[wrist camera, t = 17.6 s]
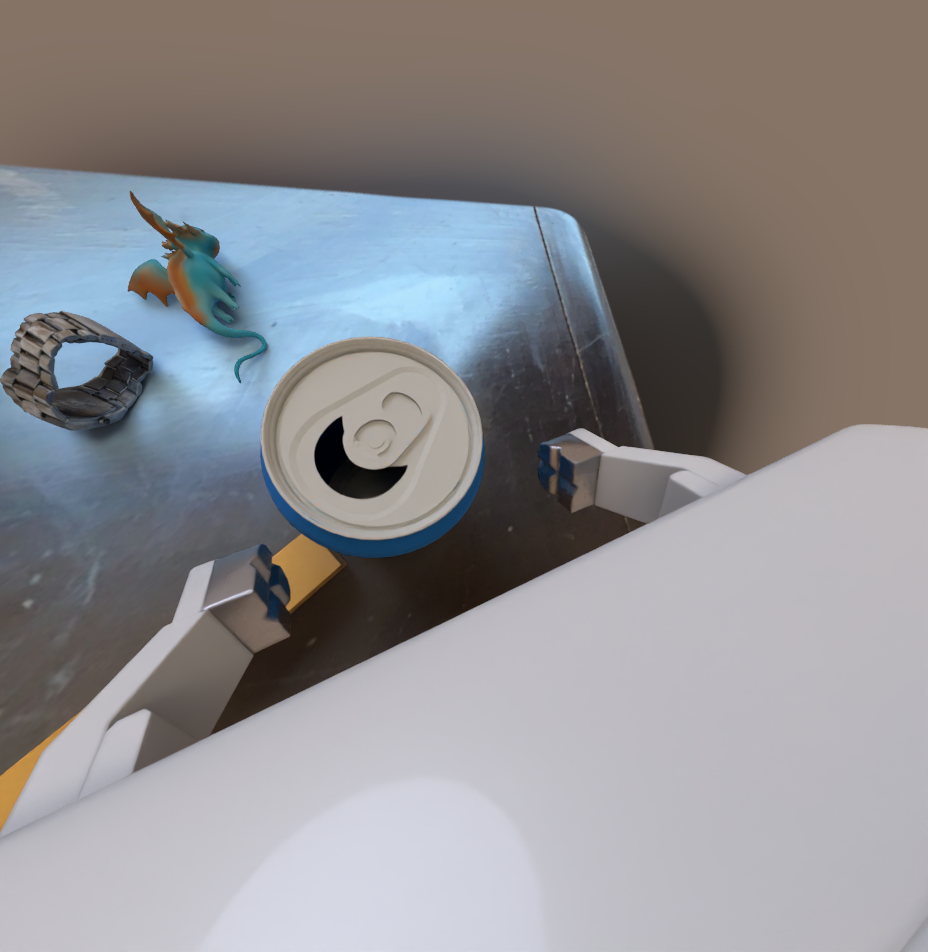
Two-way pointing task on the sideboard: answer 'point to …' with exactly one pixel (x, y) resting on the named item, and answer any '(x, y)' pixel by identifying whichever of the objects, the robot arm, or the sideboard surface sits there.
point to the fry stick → (305, 575)
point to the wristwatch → (80, 404)
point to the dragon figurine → (190, 277)
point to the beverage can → (372, 447)
